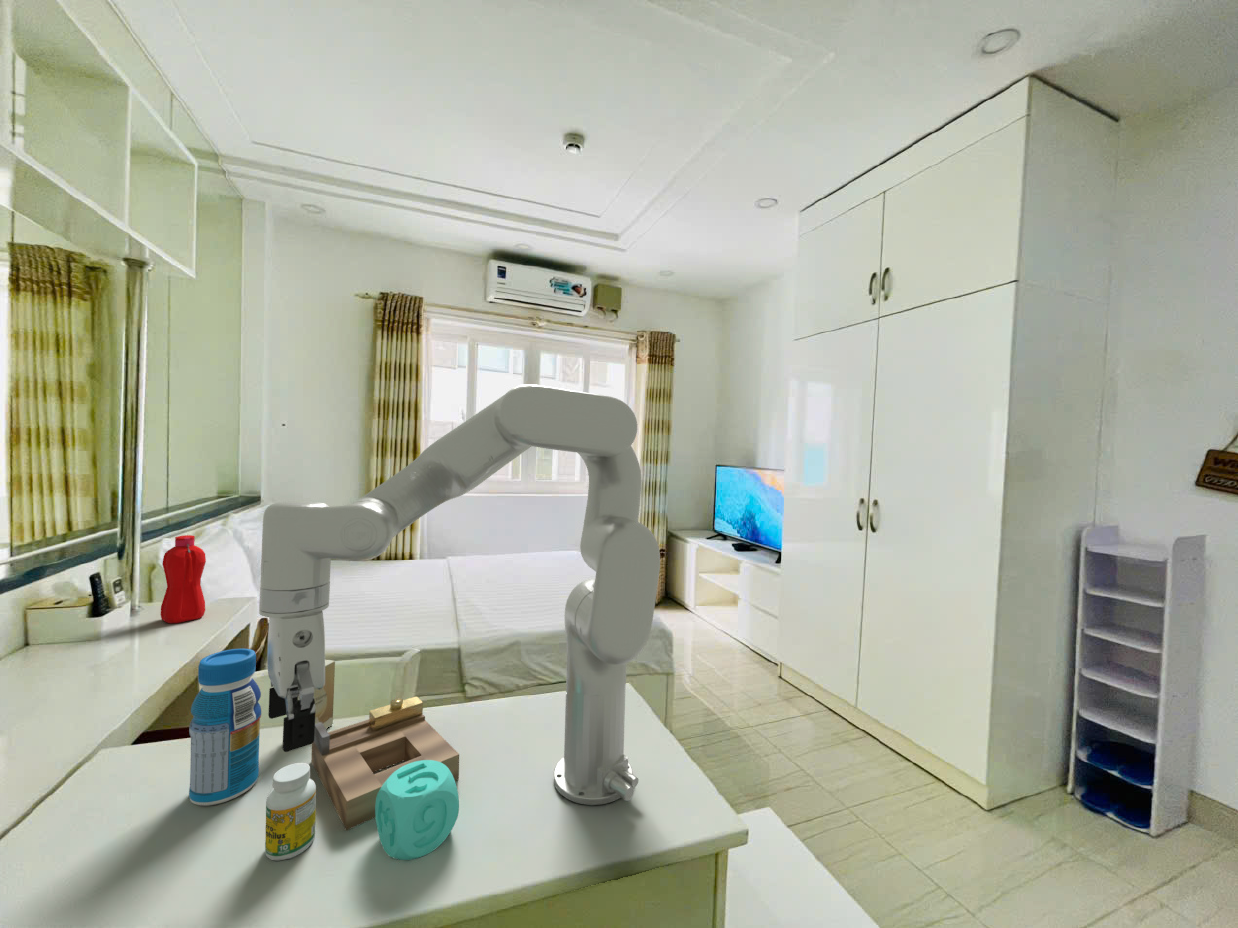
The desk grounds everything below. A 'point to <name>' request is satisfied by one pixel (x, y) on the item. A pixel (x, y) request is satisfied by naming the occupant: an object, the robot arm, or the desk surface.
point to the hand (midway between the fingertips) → (290, 730)
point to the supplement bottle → (290, 812)
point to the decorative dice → (416, 809)
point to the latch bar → (395, 713)
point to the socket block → (372, 761)
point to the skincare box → (325, 697)
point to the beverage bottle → (225, 728)
